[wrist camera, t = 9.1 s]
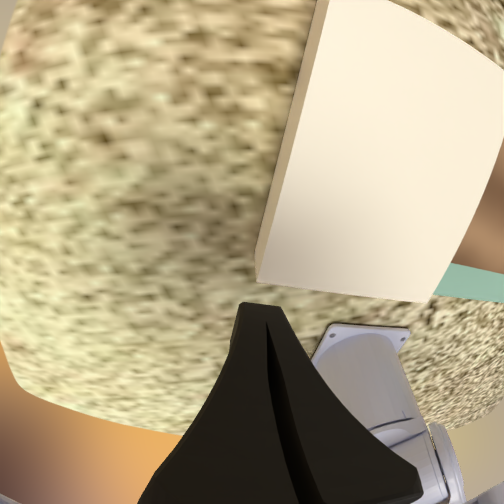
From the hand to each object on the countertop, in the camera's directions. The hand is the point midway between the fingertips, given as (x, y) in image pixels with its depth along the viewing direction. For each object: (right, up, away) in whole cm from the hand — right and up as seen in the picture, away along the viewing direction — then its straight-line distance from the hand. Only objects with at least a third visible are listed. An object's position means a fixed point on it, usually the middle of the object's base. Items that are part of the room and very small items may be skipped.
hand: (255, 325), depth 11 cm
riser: (+8, +8, +6) cm, 13 cm away
